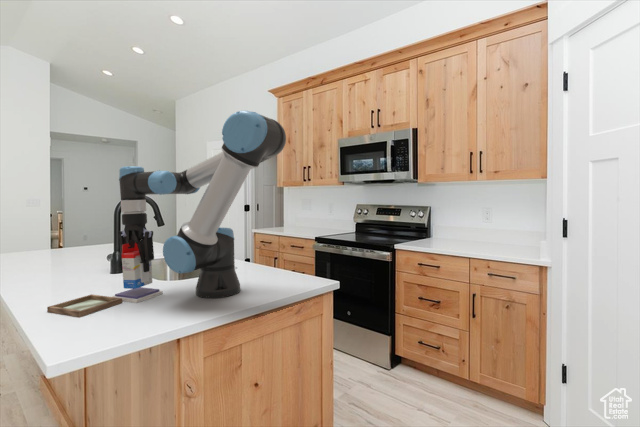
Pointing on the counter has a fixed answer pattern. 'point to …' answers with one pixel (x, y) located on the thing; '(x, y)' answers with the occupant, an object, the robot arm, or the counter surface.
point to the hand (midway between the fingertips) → (138, 280)
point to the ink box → (133, 268)
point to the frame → (84, 305)
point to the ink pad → (138, 294)
